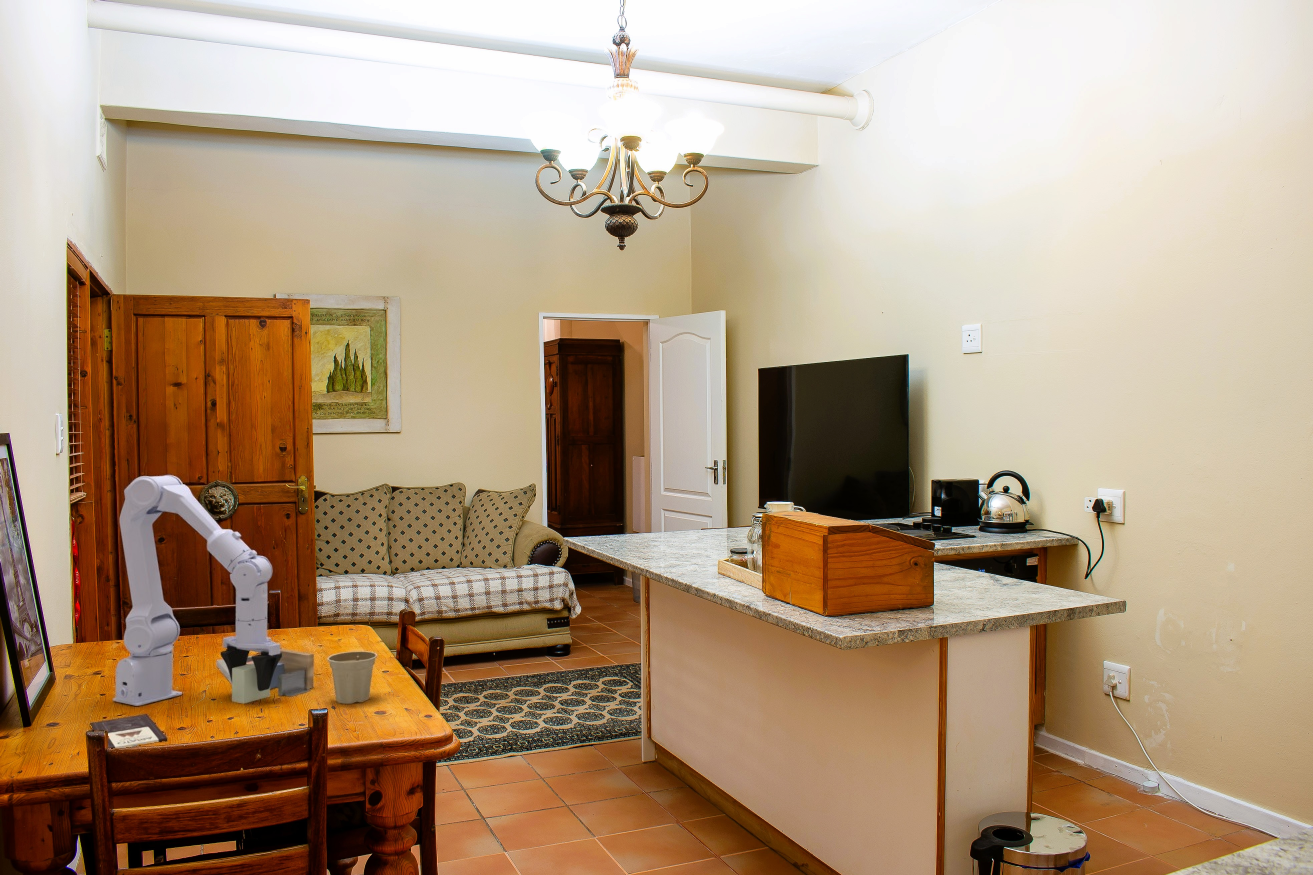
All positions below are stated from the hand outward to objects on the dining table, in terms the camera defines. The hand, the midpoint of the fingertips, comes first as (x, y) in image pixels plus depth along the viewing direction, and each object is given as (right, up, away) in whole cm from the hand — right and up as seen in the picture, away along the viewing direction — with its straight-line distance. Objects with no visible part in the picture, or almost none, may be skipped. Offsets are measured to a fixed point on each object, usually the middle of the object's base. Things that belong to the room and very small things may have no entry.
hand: (250, 687), depth 180 cm
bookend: (+6, -2, +5) cm, 8 cm away
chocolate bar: (-12, -3, -22) cm, 25 cm away
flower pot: (+20, -3, -1) cm, 20 cm away
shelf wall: (+4, -2, +11) cm, 11 cm away
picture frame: (-8, -3, +23) cm, 24 cm away
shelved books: (-1, -2, +9) cm, 9 cm away
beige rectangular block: (0, -2, 0) cm, 2 cm away
